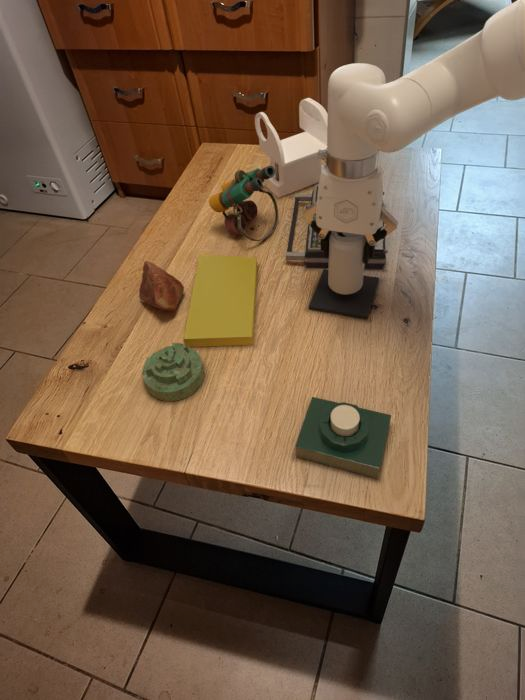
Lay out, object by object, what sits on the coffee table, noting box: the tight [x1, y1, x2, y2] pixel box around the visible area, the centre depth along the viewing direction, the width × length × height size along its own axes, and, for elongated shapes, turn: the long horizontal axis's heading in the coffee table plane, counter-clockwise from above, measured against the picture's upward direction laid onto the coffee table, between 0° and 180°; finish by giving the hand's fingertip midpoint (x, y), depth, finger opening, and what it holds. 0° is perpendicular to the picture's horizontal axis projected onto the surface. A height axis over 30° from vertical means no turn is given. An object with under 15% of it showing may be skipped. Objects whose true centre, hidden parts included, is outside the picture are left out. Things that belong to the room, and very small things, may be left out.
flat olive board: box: [183, 253, 259, 348], centre depth 93 cm, size 12×2×24 cm
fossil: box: [138, 260, 185, 311], centre depth 93 cm, size 13×8×10 cm
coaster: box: [308, 268, 380, 321], centre depth 92 cm, size 11×11×1 cm
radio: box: [285, 184, 389, 270], centre depth 103 cm, size 24×5×20 cm
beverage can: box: [327, 231, 367, 294], centre depth 86 cm, size 6×6×12 cm
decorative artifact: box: [141, 342, 205, 402], centre depth 80 cm, size 10×7×10 cm
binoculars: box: [208, 165, 279, 242], centre depth 103 cm, size 14×14×15 cm
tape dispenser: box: [254, 97, 328, 199], centre depth 113 cm, size 14×13×18 cm
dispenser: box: [294, 396, 392, 479], centre depth 70 cm, size 12×9×5 cm
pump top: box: [330, 405, 360, 437], centre depth 68 cm, size 4×4×2 cm
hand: (347, 255), depth 85 cm, fingers closed on beverage can, 6 cm apart
